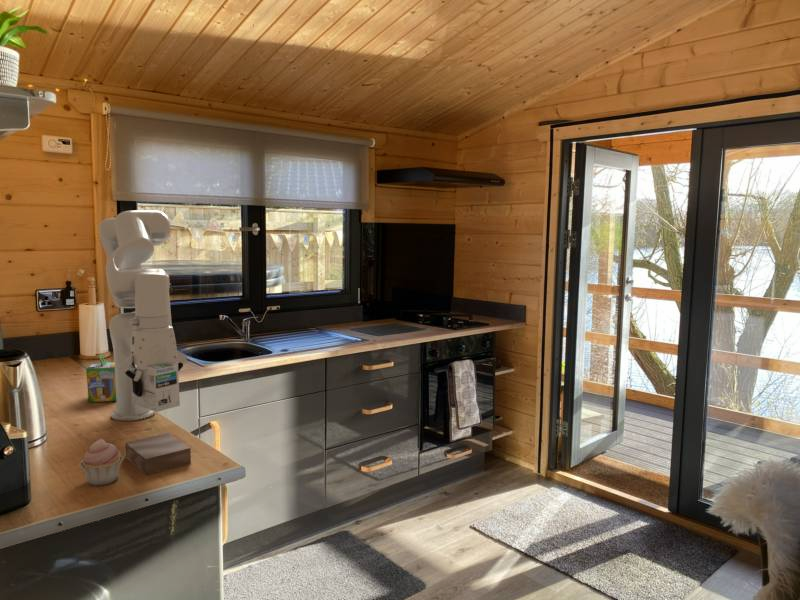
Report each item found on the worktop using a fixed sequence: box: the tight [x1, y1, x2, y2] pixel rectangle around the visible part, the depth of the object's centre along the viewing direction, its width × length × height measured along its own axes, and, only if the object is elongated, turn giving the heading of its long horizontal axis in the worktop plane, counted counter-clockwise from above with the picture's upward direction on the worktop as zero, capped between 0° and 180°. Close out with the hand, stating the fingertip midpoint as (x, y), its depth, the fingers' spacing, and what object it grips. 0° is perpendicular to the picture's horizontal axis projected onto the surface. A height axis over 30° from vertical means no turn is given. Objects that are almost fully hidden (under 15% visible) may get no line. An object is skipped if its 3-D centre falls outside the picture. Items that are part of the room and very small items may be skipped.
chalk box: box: [85, 353, 116, 404], centre depth 208 cm, size 9×9×15 cm
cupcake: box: [78, 438, 125, 487], centre depth 146 cm, size 9×9×10 cm
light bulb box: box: [130, 364, 181, 413], centre depth 156 cm, size 11×7×11 cm, turn 56°
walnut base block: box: [124, 432, 192, 476], centre depth 158 cm, size 14×11×4 cm
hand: (155, 392), depth 156 cm, fingers closed on light bulb box, 7 cm apart
